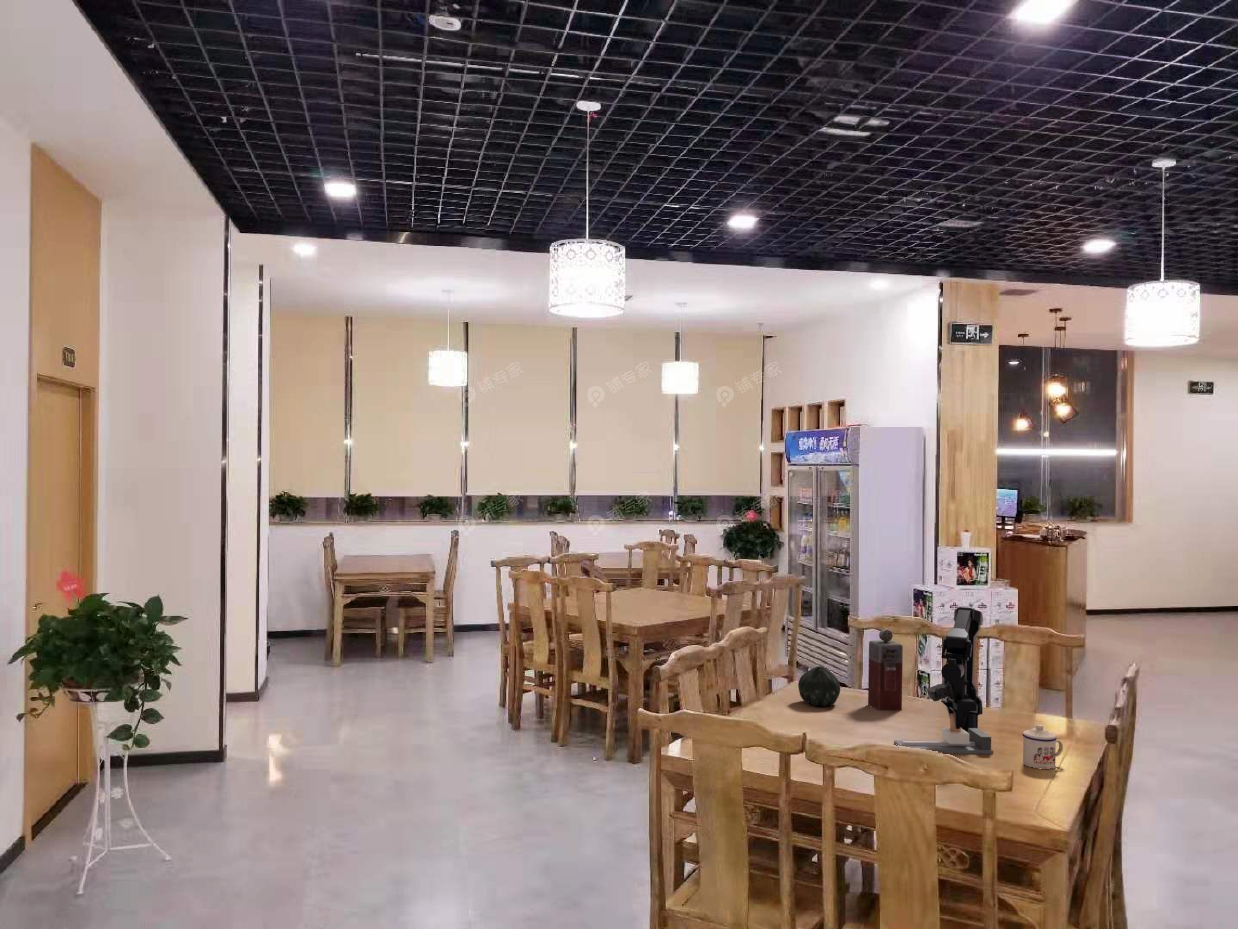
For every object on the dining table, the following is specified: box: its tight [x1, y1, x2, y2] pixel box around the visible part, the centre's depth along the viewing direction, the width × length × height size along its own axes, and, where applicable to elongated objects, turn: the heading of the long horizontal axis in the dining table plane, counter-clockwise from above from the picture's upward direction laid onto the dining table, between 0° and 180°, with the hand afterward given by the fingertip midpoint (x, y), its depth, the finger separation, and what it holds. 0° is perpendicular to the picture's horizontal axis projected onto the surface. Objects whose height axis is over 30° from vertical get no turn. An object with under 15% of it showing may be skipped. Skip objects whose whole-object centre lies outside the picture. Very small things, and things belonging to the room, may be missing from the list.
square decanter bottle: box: [867, 628, 904, 712], centre depth 340 cm, size 9×11×28 cm
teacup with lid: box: [1022, 724, 1064, 770], centre depth 275 cm, size 12×9×12 cm
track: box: [893, 727, 994, 755], centre depth 290 cm, size 27×10×5 cm, turn 92°
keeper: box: [941, 713, 969, 744], centre depth 291 cm, size 6×6×8 cm
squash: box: [797, 665, 841, 707], centre depth 344 cm, size 14×15×15 cm
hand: (955, 727), depth 291 cm, fingers closed on keeper, 3 cm apart
